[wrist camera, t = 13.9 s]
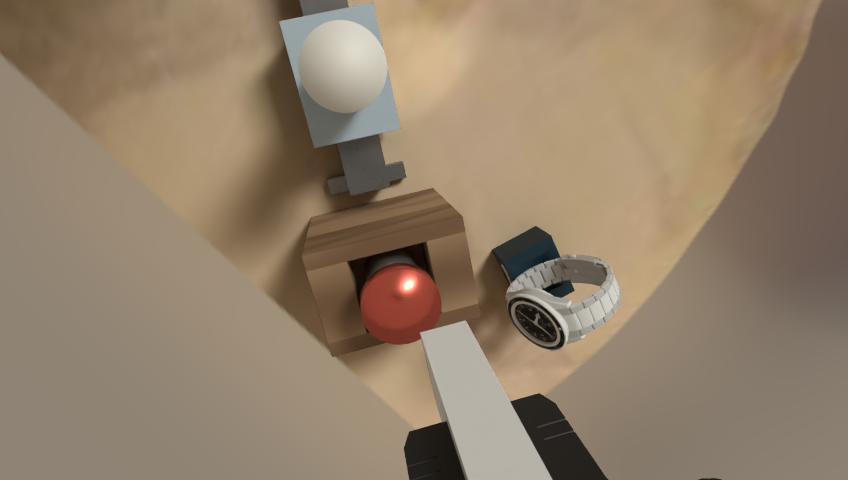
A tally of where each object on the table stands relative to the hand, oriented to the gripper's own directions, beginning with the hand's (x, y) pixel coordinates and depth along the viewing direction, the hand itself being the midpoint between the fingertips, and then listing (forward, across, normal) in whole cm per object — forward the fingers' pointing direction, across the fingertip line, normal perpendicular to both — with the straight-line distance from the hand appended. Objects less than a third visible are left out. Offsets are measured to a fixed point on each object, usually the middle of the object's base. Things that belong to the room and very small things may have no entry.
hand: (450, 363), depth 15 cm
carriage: (+23, -1, +9) cm, 25 cm away
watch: (+25, +11, -9) cm, 28 cm away
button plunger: (+18, -1, -4) cm, 18 cm away
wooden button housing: (+25, -1, -4) cm, 25 cm away
